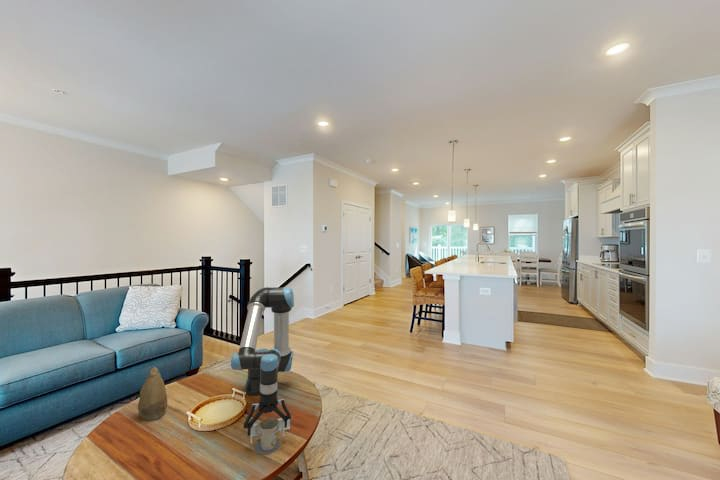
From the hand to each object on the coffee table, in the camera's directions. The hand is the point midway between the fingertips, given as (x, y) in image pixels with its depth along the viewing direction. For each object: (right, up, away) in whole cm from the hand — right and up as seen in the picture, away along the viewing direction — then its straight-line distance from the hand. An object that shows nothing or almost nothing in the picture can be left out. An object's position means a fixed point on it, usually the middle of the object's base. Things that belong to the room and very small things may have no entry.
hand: (267, 438), depth 127 cm
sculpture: (-65, -2, +19) cm, 68 cm away
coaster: (0, -3, 0) cm, 3 cm away
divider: (-2, -3, +9) cm, 10 cm away
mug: (-1, -3, 0) cm, 3 cm away
